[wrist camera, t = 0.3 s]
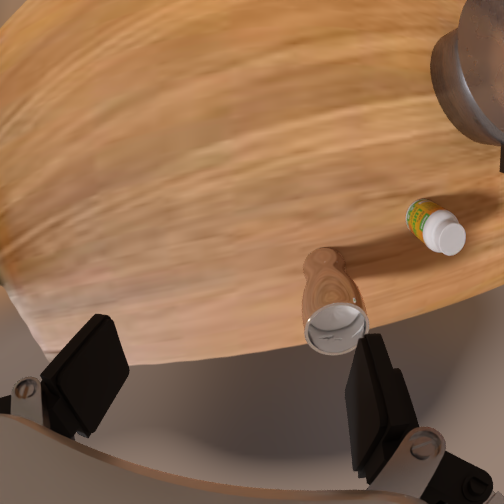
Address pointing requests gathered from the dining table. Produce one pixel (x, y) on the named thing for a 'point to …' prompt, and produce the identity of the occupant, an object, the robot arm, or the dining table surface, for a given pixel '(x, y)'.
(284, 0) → the dining table surface
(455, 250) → the supplement bottle
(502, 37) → the cooker lid
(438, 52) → the cooking pot
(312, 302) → the beer glass
